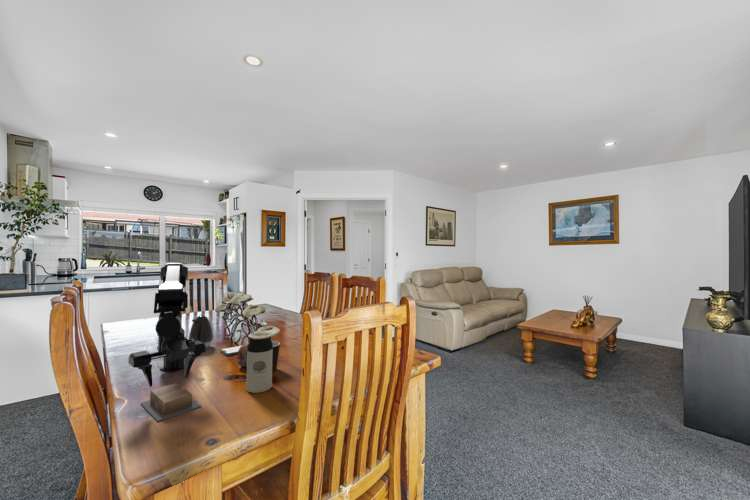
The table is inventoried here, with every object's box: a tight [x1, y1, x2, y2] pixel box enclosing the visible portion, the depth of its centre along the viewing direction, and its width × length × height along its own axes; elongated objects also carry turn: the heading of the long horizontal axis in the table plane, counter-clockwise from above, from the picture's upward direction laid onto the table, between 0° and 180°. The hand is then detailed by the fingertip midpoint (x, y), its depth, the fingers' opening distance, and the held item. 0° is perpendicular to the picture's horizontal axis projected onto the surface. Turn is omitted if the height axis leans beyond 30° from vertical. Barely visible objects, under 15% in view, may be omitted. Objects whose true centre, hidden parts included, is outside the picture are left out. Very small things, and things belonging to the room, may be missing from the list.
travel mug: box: [246, 331, 273, 394], centre depth 105 cm, size 8×8×18 cm
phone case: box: [220, 344, 244, 357], centre depth 144 cm, size 9×2×16 cm
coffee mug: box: [271, 340, 281, 373], centre depth 122 cm, size 12×9×10 cm
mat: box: [140, 398, 202, 423], centre depth 92 cm, size 15×11×1 cm
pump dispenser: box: [188, 315, 214, 349], centre depth 147 cm, size 10×10×15 cm
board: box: [149, 382, 193, 416], centre depth 93 cm, size 4×7×12 cm
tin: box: [236, 342, 249, 368], centre depth 129 cm, size 15×3×8 cm, turn 168°
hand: (168, 381), depth 94 cm, fingers open, 9 cm apart
